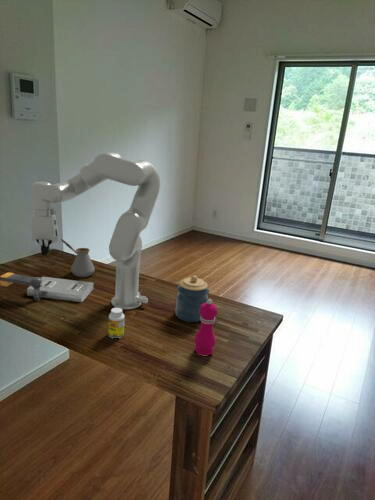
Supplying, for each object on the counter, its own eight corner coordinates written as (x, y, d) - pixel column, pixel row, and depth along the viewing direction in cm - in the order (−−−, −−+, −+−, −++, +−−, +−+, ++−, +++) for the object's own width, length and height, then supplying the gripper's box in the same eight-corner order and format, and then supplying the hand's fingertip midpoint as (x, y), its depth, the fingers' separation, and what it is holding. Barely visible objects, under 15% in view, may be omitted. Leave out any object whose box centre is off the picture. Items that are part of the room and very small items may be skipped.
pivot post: (41, 299, 156) (41, 285, 154) (38, 301, 154) (38, 287, 152) (36, 298, 156) (35, 284, 154) (33, 300, 154) (32, 287, 152)
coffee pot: (99, 274, 187) (100, 245, 182) (82, 280, 177) (82, 251, 173) (70, 263, 197) (69, 236, 192) (52, 269, 187) (51, 240, 183)
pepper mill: (213, 346, 133) (219, 295, 126) (215, 358, 126) (221, 304, 120) (193, 345, 132) (198, 294, 126) (194, 357, 125) (199, 303, 119)
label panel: (93, 288, 170) (93, 282, 169) (82, 302, 157) (82, 294, 155) (42, 282, 172) (42, 275, 170) (27, 295, 158) (26, 288, 157)
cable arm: (44, 287, 155) (44, 277, 154) (37, 292, 151) (37, 281, 149) (8, 281, 158) (7, 271, 157) (0, 285, 154) (-1, 275, 152)
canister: (209, 311, 158) (213, 273, 152) (202, 326, 146) (206, 284, 140) (180, 306, 161) (183, 267, 155) (170, 319, 149) (173, 278, 143)
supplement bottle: (104, 335, 134) (105, 309, 131) (117, 329, 138) (117, 304, 135) (114, 341, 130) (115, 315, 127) (127, 335, 134) (128, 310, 131)
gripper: (64, 212, 157) (66, 253, 162) (30, 209, 158) (32, 250, 163) (57, 215, 150) (59, 258, 155) (21, 212, 150) (24, 255, 156)
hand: (45, 254), depth 159 cm, fingers closed
